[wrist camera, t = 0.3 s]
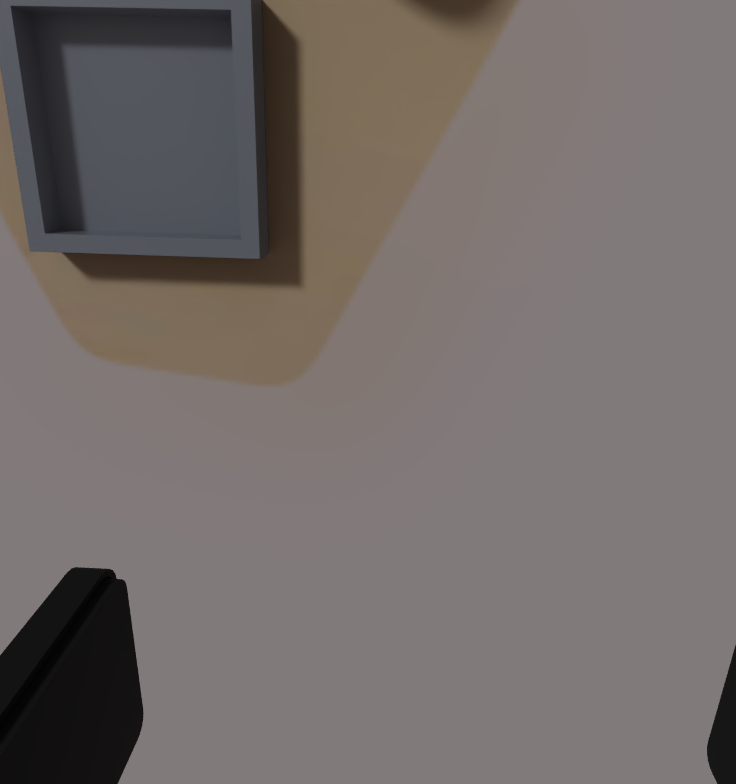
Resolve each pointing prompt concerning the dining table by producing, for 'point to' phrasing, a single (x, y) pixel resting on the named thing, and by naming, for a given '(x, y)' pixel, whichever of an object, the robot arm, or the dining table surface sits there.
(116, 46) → the tray
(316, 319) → the dining table surface
